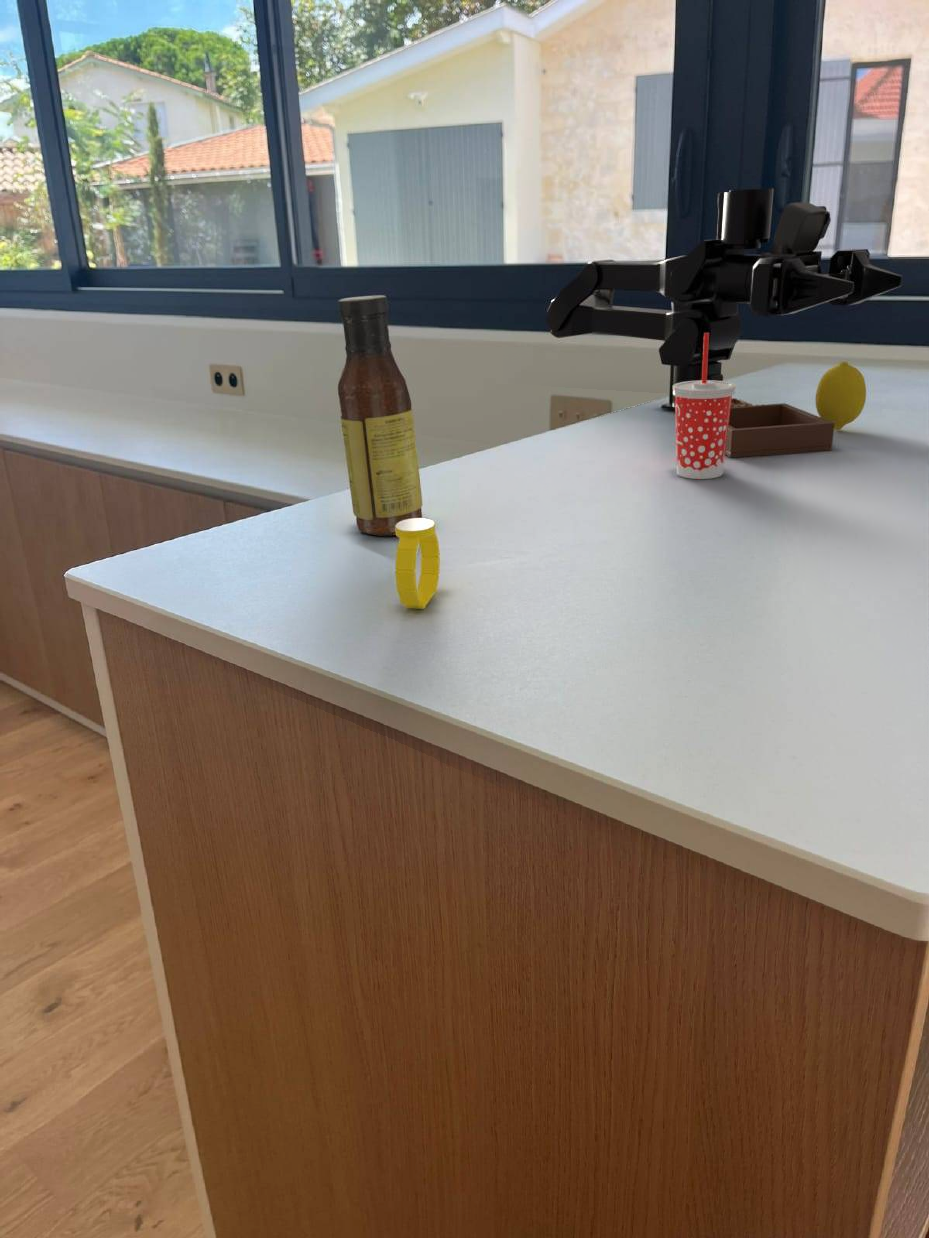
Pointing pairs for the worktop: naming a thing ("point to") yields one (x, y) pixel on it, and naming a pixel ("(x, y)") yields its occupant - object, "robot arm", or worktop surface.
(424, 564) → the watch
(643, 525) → the worktop surface
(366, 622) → the worktop surface
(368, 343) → the sauce bottle
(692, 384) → the beverage cup
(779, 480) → the worktop surface
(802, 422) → the tray
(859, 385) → the lemon
